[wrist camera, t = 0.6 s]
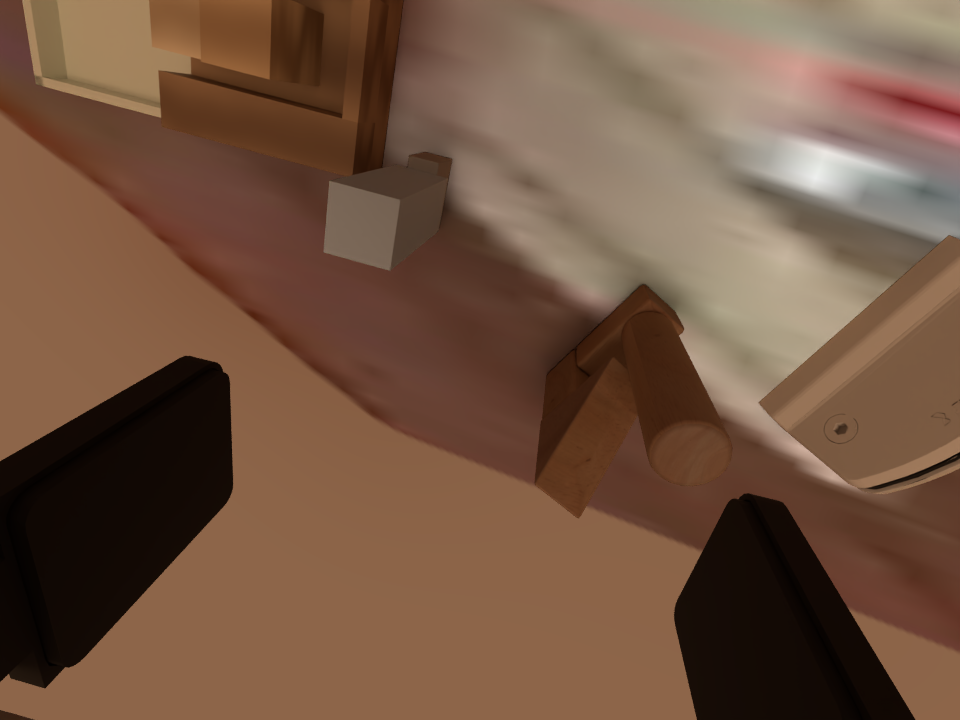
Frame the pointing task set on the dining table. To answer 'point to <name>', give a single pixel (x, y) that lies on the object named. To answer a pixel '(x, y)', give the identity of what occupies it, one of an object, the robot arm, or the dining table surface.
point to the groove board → (301, 95)
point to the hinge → (886, 384)
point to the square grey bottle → (386, 210)
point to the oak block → (263, 38)
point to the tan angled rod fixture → (628, 406)
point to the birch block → (176, 26)
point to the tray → (99, 51)
